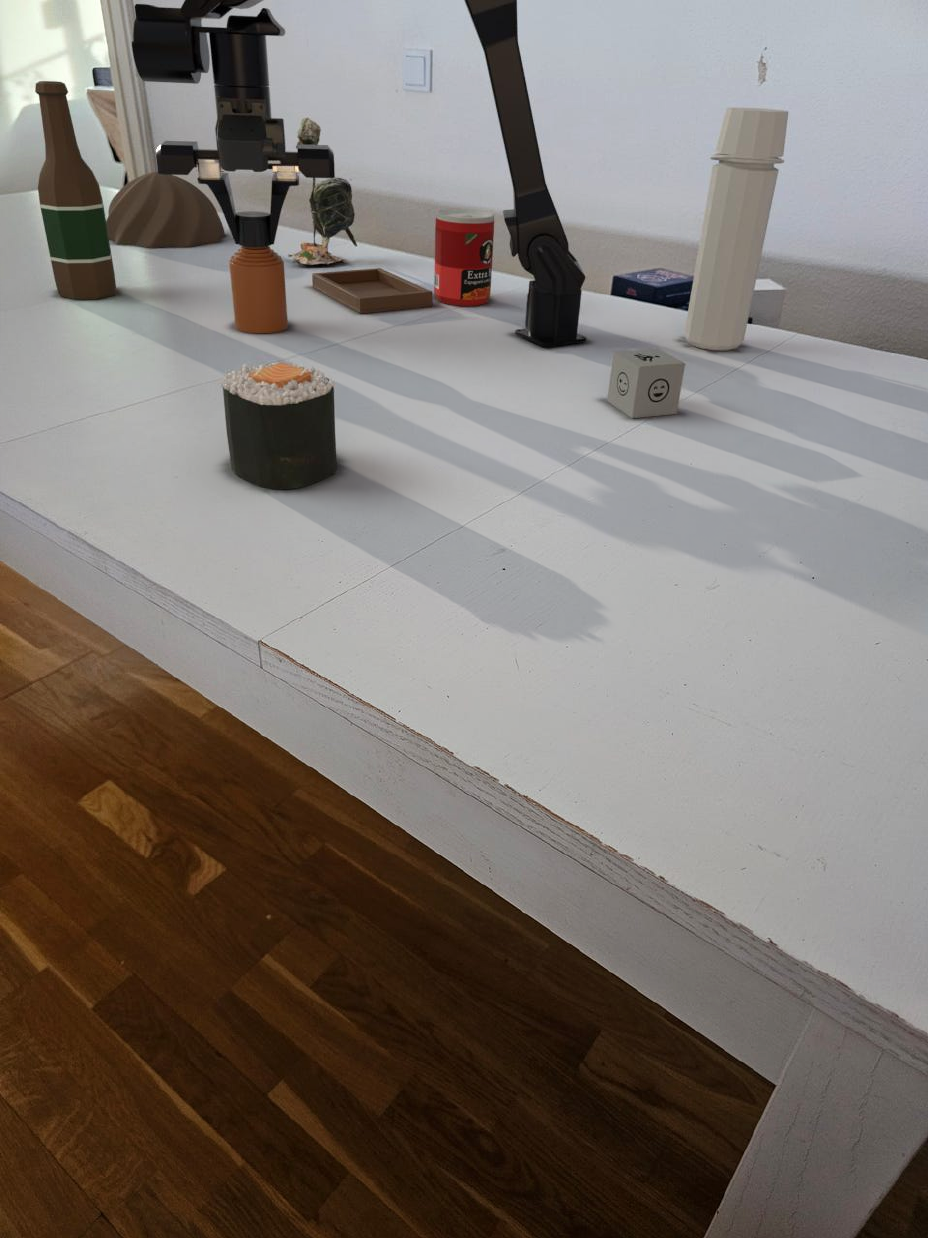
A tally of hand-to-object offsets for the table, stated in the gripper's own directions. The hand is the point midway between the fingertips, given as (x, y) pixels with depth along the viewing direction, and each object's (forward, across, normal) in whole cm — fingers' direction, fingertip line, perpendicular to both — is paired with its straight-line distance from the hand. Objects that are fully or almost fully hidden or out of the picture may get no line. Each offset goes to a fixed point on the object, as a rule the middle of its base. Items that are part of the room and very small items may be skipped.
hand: (254, 243), depth 103 cm
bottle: (+9, 0, 0) cm, 9 cm away
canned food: (+10, +26, +14) cm, 32 cm away
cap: (0, 0, 0) cm, 0 cm away
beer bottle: (+10, -23, +16) cm, 30 cm away
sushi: (+10, +3, -43) cm, 44 cm away
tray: (+9, +14, +16) cm, 23 cm away
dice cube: (+10, +38, -30) cm, 49 cm away
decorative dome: (+10, -18, +57) cm, 61 cm away
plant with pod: (+10, +8, +38) cm, 40 cm away
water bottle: (+10, +55, -7) cm, 56 cm away
